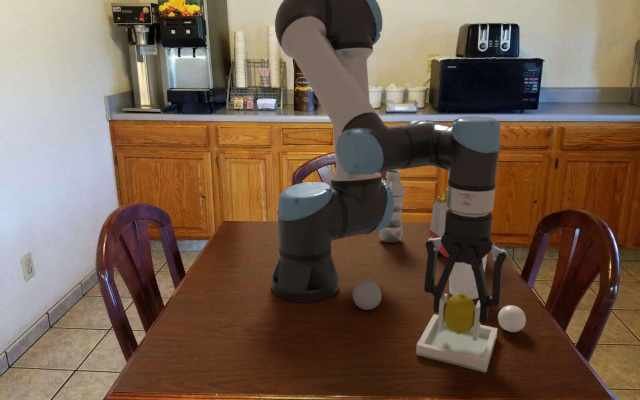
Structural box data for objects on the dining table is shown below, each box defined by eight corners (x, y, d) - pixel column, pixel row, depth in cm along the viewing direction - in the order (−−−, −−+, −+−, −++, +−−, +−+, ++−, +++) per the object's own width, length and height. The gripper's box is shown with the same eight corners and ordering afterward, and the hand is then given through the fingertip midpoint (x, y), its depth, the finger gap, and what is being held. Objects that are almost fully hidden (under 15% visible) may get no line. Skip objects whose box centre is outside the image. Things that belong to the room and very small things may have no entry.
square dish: (415, 354, 90) (416, 344, 90) (433, 323, 101) (433, 314, 100) (486, 373, 85) (487, 362, 85) (496, 337, 96) (497, 328, 95)
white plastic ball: (494, 333, 97) (497, 309, 96) (498, 321, 101) (501, 298, 100) (522, 339, 95) (526, 315, 94) (525, 327, 99) (528, 304, 98)
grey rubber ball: (347, 311, 105) (348, 284, 104) (358, 298, 110) (359, 273, 109) (375, 317, 103) (376, 290, 101) (385, 304, 108) (386, 278, 106)
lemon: (468, 325, 95) (472, 286, 93) (478, 342, 90) (482, 301, 87) (439, 326, 95) (442, 287, 93) (447, 342, 90) (450, 301, 87)
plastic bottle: (374, 238, 145) (376, 170, 140) (396, 235, 147) (399, 168, 142) (384, 246, 140) (386, 175, 134) (406, 243, 142) (410, 173, 136)
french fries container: (427, 251, 136) (432, 186, 131) (463, 247, 139) (469, 183, 134) (436, 258, 132) (441, 191, 127) (473, 253, 135) (479, 187, 130)
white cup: (484, 303, 109) (489, 259, 106) (446, 299, 110) (450, 256, 107) (481, 286, 116) (485, 245, 113) (445, 283, 118) (448, 243, 115)
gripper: (409, 209, 86) (402, 330, 93) (526, 225, 78) (509, 356, 85) (421, 197, 93) (414, 312, 99) (530, 211, 85) (514, 334, 92)
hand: (458, 332), depth 92 cm, fingers closed on lemon, 5 cm apart
